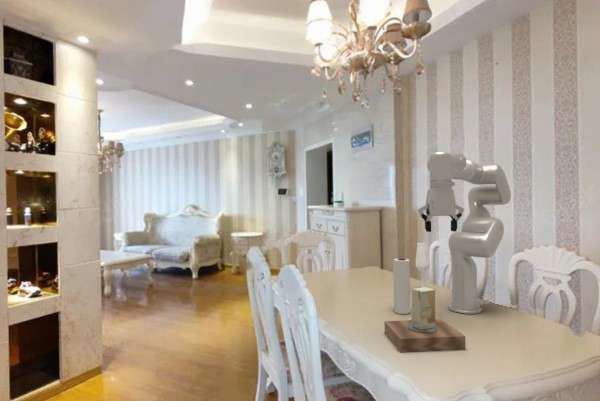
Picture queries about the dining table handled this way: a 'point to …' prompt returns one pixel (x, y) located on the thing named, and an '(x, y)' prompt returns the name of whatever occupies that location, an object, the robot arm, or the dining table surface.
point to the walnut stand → (424, 336)
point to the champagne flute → (422, 258)
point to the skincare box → (423, 308)
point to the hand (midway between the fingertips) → (441, 231)
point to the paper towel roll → (402, 285)
